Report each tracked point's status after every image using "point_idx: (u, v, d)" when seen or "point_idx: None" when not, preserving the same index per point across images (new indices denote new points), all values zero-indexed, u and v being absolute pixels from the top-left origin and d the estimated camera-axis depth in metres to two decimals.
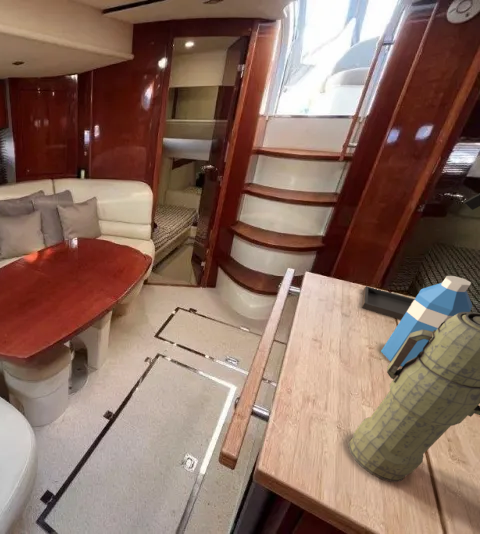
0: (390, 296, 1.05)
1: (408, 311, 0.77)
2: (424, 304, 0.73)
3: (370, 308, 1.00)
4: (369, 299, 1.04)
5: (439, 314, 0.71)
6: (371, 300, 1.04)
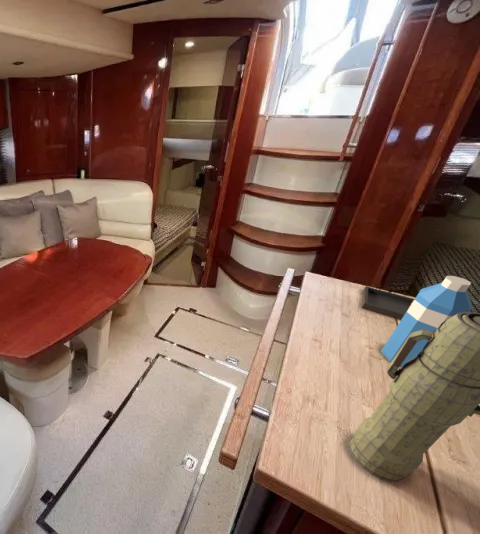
0: (390, 296, 1.05)
1: (408, 311, 0.77)
2: (424, 304, 0.73)
3: (370, 308, 1.00)
4: (369, 299, 1.04)
5: (439, 314, 0.71)
6: (371, 300, 1.04)
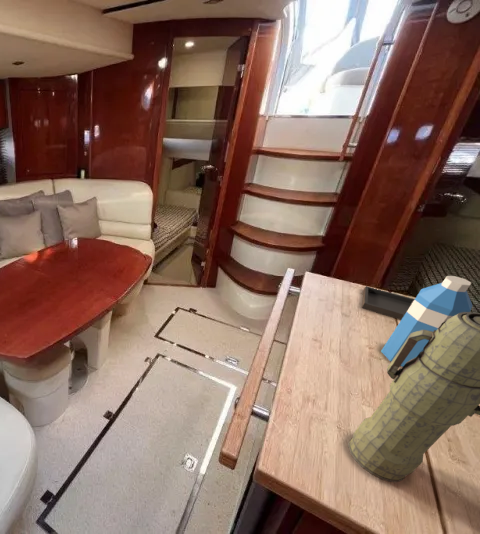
0: (390, 296, 1.05)
1: (408, 311, 0.77)
2: (424, 304, 0.73)
3: (370, 308, 1.00)
4: (369, 299, 1.04)
5: (439, 314, 0.71)
6: (371, 300, 1.04)
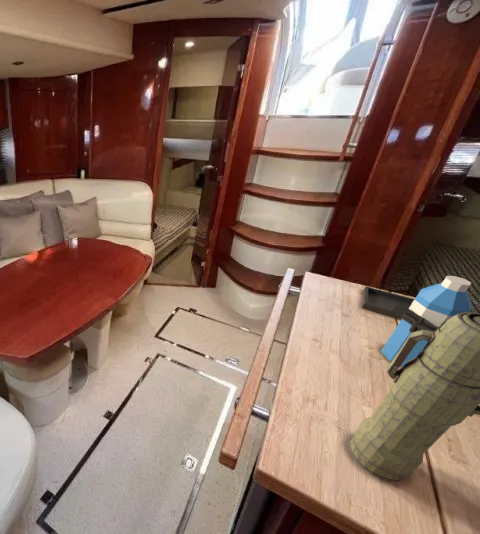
0: (390, 296, 1.05)
1: None
2: (424, 304, 0.73)
3: (370, 308, 1.00)
4: (369, 299, 1.04)
5: (439, 314, 0.71)
6: (371, 300, 1.04)
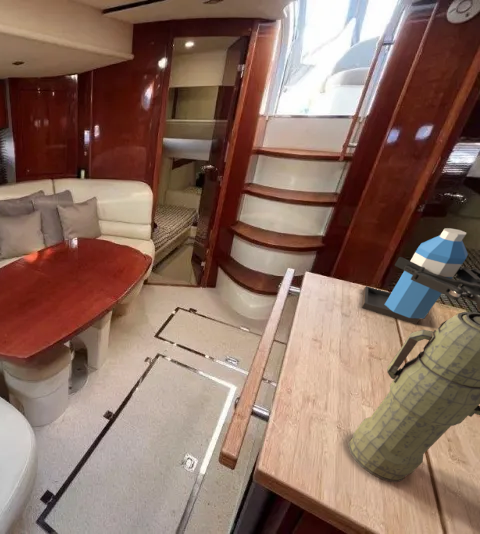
0: None
1: None
2: (424, 255, 0.81)
3: (370, 308, 1.00)
4: (369, 299, 1.04)
5: (438, 263, 0.79)
6: (371, 300, 1.04)
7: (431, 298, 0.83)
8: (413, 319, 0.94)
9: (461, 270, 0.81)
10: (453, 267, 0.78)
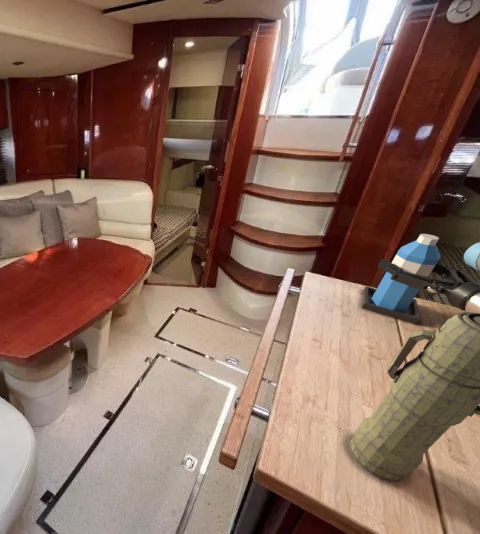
0: None
1: None
2: (403, 257, 0.92)
3: (370, 308, 1.00)
4: (369, 299, 1.04)
5: (415, 264, 0.90)
6: None
7: (409, 295, 0.95)
8: (413, 319, 0.94)
9: (447, 270, 0.91)
10: (428, 268, 0.90)
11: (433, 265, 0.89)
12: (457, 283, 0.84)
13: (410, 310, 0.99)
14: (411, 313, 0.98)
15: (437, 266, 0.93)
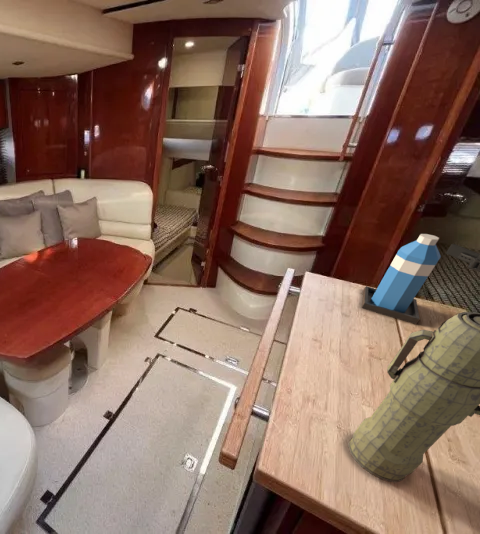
0: None
1: (391, 264, 0.96)
2: (403, 257, 0.92)
3: (370, 308, 1.00)
4: (369, 299, 1.04)
5: (415, 264, 0.90)
6: None
7: (409, 295, 0.95)
8: (413, 319, 0.94)
9: None
10: (428, 268, 0.90)
11: (433, 265, 0.89)
12: None
13: (410, 310, 0.99)
14: (411, 313, 0.98)
15: None
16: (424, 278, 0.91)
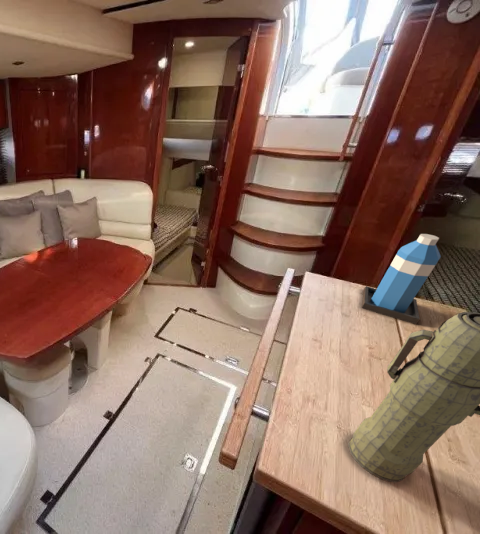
0: None
1: (391, 264, 0.96)
2: (403, 257, 0.92)
3: (370, 308, 1.00)
4: (369, 299, 1.04)
5: (415, 264, 0.90)
6: None
7: (409, 295, 0.95)
8: (413, 319, 0.94)
9: None
10: (428, 268, 0.90)
11: (433, 265, 0.89)
12: None
13: (410, 310, 0.99)
14: (411, 313, 0.98)
15: None
16: (424, 278, 0.91)
